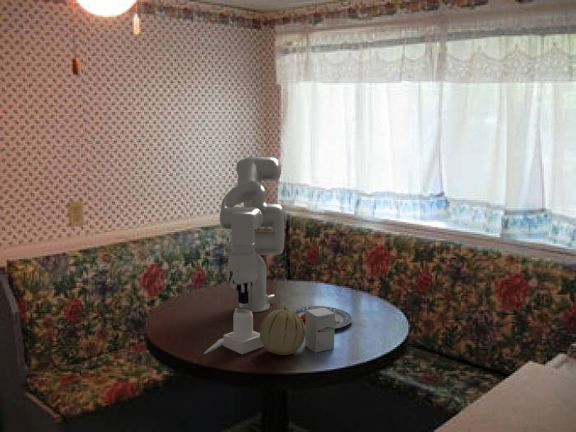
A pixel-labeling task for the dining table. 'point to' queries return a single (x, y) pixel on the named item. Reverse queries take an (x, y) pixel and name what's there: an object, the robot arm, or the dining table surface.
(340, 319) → the ceramic plate
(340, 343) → the dining table surface
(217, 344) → the white long tapered piece
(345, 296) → the dining table surface
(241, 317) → the can
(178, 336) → the dining table surface
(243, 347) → the can holder
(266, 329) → the cantaloupe
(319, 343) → the supplement box
